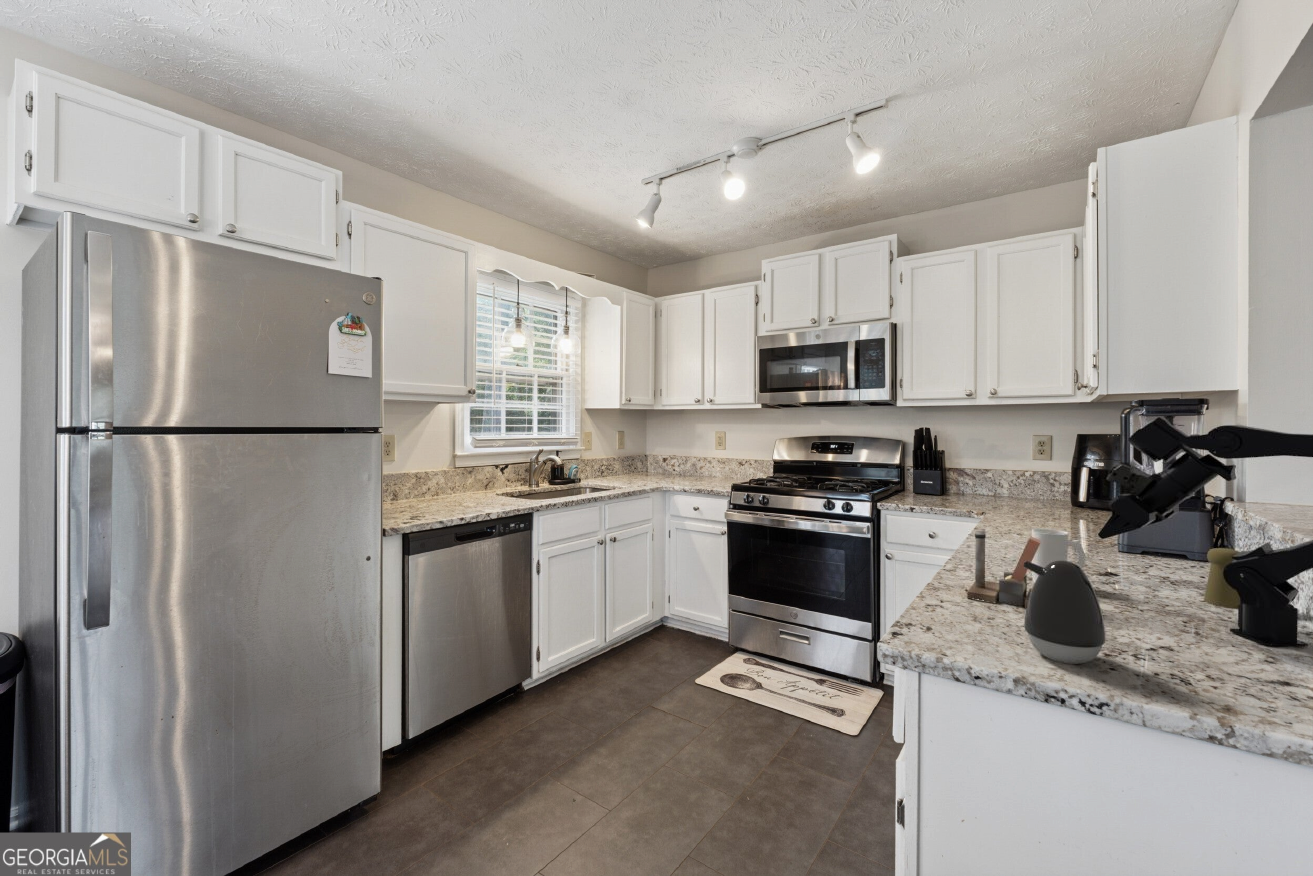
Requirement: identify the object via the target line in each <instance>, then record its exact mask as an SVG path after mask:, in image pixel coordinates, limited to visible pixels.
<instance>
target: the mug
mask: <svg viewBox="0 0 1313 876" xmlns="http://www.w3.org/2000/svg"><path fill="white" fill-rule="evenodd" d="M1031 537H1033V538H1036V539H1038V540H1041V543H1040V545H1039V547H1038V549H1037V551H1036V554H1035V556H1034V558H1033V560H1032V562H1031V563H1033V564H1036V565H1038V566H1041V567H1045V566H1046V565H1048V564H1049V563H1051V562H1053V561H1057V560H1065V561H1069V559H1068V558H1069V557H1068V555H1069V547H1072V548H1073V549H1075V551H1076V552H1077V554H1078V563H1077V564H1076V565H1077V566H1079V567H1080V568H1081V569H1082V570H1083V568H1084V566H1085V563H1086V553H1085V551H1084V548H1083V547H1082V544H1081V541H1080V540H1078V539H1077V540H1076V539H1073V540H1069V532H1067V531H1064V530H1058V529H1053V528H1052V529H1049V528H1034V529H1031ZM1031 572H1032V583H1033V584H1034V583H1035V581H1036V580H1037V578H1038V576H1039V575H1038V574H1036V573H1034V572H1033V571H1031Z"/></svg>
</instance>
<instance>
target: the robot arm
mask: <svg viewBox="0 0 1313 876" xmlns="http://www.w3.org/2000/svg"><path fill="white" fill-rule="evenodd" d="M1127 443H1128V444H1129V445H1131V446H1133V448H1135V449H1137V450H1138V451H1140V452H1141V453H1142V454H1143V455H1144V456H1146V457H1147V458H1149V459H1150V460H1152V461H1153V462H1154V463H1157V462H1160V461H1163V462H1164V463H1168V462H1170V461H1173V460H1174V459H1175V458H1176V457H1177V456H1179V455H1180V454H1181V453H1182V452H1184V453H1183V454H1182V455H1181V456H1179V457H1178V458H1176V460H1174V461H1173V462H1172V463H1171V464H1169V465H1167V467H1166V468H1164V469H1163V470H1161V471H1159V472H1158V473H1152V474H1149V473H1147V472H1145V471H1142V470H1139V469H1137V468H1134V467H1132V466H1128V465H1127V464H1125V463H1124V464H1123V463H1122V464H1121V463H1117V464H1113V466H1112V468H1111V469H1109V470H1108V471H1107V473H1108V475H1107V477H1106V481H1109V482H1111V483H1116V484H1120V485H1121V486H1124V487H1126V488H1129V489H1131V490H1130V491H1129V492H1130V493H1122V494H1118V495H1116V496H1115V497H1114V498H1112V499H1111V500H1110V501H1109V507H1110V509H1111V515H1110V517H1109V519H1108V520H1107V522H1106V523H1105V524H1104V526H1103V527H1102V528H1101V530H1100V531H1099V533H1097V536H1098V537H1099V538H1100V539H1102V540H1104V539H1108V538H1112V537H1116V536H1119V535H1122V534H1125V533H1128V532H1132V531H1137V530H1139V529H1142V528H1145V527H1146V526H1149V525H1153V524H1156V523H1160V522H1163V521H1166V520H1168V519H1170V518H1173V516H1175V515H1176V514H1178V513H1179V512H1180V506H1179V505H1181V503H1182V502H1184V501H1185V500H1188V499H1190V498H1191V497H1193V496H1195V493H1196V492H1197V491H1199V490H1200V489H1202V488H1204V487H1205V486H1206V485H1207V484H1209V482H1211V481H1213V480H1214V479H1216V478H1217V477H1218V476H1220V477H1221V478H1222V479H1223V480H1225V481H1227V482H1232V481H1234V480H1236V479H1237V476H1236V468H1237V465H1236V464H1225V463H1223V462H1222V461H1221V460H1219V459H1224V460H1230V459H1231V460H1232V459H1233V460H1235V459H1251V458H1253V459H1254V458H1264V457H1265V458H1266V457H1281V456H1283V457H1284V456H1287V457H1288V456H1289V457H1303V458H1313V434H1311V433H1309V434H1308V433H1289V432H1281V431H1275V430H1271V429H1265V428H1259V427H1253V426H1247V425H1239V424H1229V425H1228V424H1227V425H1219V426H1216V427H1214V428H1212V429H1211V430H1209V431H1208V432H1207V434H1206V433H1205V434H1198V433H1195V434H1190V435H1187V434H1186V433H1185V432H1183V431H1182V430H1180V429H1179V428H1177V427H1176V426H1174V425H1173V424H1172V423H1171V422H1170V421H1169V420H1167V419H1166V418H1165V417H1162V416H1160V417H1159V416H1158V417H1157V418H1155V419H1154V420H1153V421H1151V422H1149V423H1147V424H1146V425H1144V426H1143V427H1142V428H1139V429H1137V430H1136V431H1134V433H1133V434H1132V435H1131V436H1130V437H1129V438H1128V439H1127ZM1196 450H1200V451H1201V450H1202V451H1207V452H1208V453H1207V454H1205V455H1203V454H1200V453H1199V452H1198V451H1196ZM1217 458H1219V459H1217ZM1232 559H1234V561H1232V562H1230V563H1229V564H1227V565H1226V566H1225V568H1224V571H1223V576H1224V579H1225V581H1226V583H1227V584H1228V585H1229V586H1230V587H1231V588H1233V589H1235V590H1236V591H1237V593H1238V595H1239V597H1240V604H1239V605H1238V609H1237V613H1238V614H1237V628H1233V627H1232V628H1229V632H1231V633H1233V634H1236V635H1238V636H1240V637H1243V638H1246V639H1248V640H1251V641H1253V642H1256V643H1259V644H1262V645H1265V646H1269V647H1270V646H1271V647H1275V646H1277V647H1278V646H1279V647H1309V643H1308V642H1306V641H1304V640H1300V639H1298V630H1299V629H1298V627H1299V625H1298V621H1299V617H1298V616H1299V612H1298V611H1299V609H1298V607H1295V606H1294V605H1293V604H1292V602H1294V601H1295V599H1296V597H1297V596H1298V594H1299V592H1300V591H1299V589H1298V588H1296V586H1294V585H1293V584H1291V583H1290V582H1289V580H1290V579H1292V578H1294V577H1296V576H1298V575H1300V574H1302V573H1304V572H1305V571H1308V570H1312V569H1313V539H1311V540H1308V541H1304V542H1301V543H1299V544H1296V545H1293V546H1289V547H1282V548H1277V549H1273V548H1272V546H1271V544H1270V543H1269V542H1266V543H1264V544H1262V545H1260V546H1258V547H1256V548H1255V549H1250V550H1243V551H1239V553H1238V554H1236V555H1234V556H1233V557H1232Z"/></svg>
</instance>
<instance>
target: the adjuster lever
mask: <svg viewBox="0 0 1313 876" xmlns="http://www.w3.org/2000/svg"><path fill="white" fill-rule="evenodd" d="M1040 543H1041V540H1038V539H1036V538H1033V537H1032V535H1031V536H1030V537H1029V538H1028V540H1027V543H1026V544H1025V547H1024V549H1023V551H1022V553H1021V555H1020V558H1019V560H1017V561H1018V562H1017V564H1016V566H1015V569H1014V570H1013V572H1012V573H1013V574H1012V575H1010V576H1007V577H1006V578H1005V580H1012V581H1019V582H1023V593H1024V591H1025V588H1026V585H1025V582H1024V580H1023V579H1024V577H1025V575H1027V573H1028V570H1029V569H1027V568H1025V567H1024V566H1023V564H1024V562H1025V561H1028V562H1031V563H1032V560H1033V558H1034V556H1035V554H1036V551H1037V549H1038V547H1039V545H1040Z"/></svg>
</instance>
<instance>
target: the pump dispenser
mask: <svg viewBox="0 0 1313 876" xmlns="http://www.w3.org/2000/svg"><path fill="white" fill-rule="evenodd" d="M1077 565H1078V564H1076V563H1074V562H1073V561H1069V560H1067V561H1065V560H1057V561H1053V562H1051V563H1049V564H1048V565H1046V566H1045V567H1041V566H1038V565H1036V564H1033V563H1032V562H1028V561H1025V562H1024V564H1023V566H1024V567H1025V568H1027V569H1028V570H1030V571H1031V572H1032V571H1033V572H1034V573H1036V574H1038V575H1039V576H1038V578H1037V580H1036V581H1035V583H1033V586H1032V587H1031V588H1032V590H1031V593H1030V596H1029V599H1028V603H1027V608H1025V614H1024V625H1023V626H1024V630H1025V631H1026V633H1027V637H1028V640H1029V641H1030V643H1031V645H1032V646H1033V647H1034V649H1035V650H1036V651H1037V652H1039V653H1040V654H1041V655H1042V656H1044V657H1046V658H1048V659H1050V660H1052V659H1053V661H1055V660H1056V661H1055V662H1059V661H1060V662H1059V663H1063V662H1065V663H1064V664H1069V663H1073V664H1072V665H1079V663H1080V664H1084V663H1086V664H1087V663H1088V662H1091V661H1093V660H1094V659H1095V658H1096V657H1097V656H1098V655H1099V654H1100V652H1101V650H1102V646H1103V645H1105V643H1106V629H1105V622H1104V618H1103V612H1102V609H1101V608H1102V607H1101V605H1100V602H1099V599H1098V597H1097V593H1096V592H1095V588H1094V587H1093V585H1092V582H1091V581H1090V579H1089V577H1088V576H1087V574H1086V572H1085V571H1084V570H1083V568H1082V569H1081V568H1080V567H1079V566H1077Z"/></svg>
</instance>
